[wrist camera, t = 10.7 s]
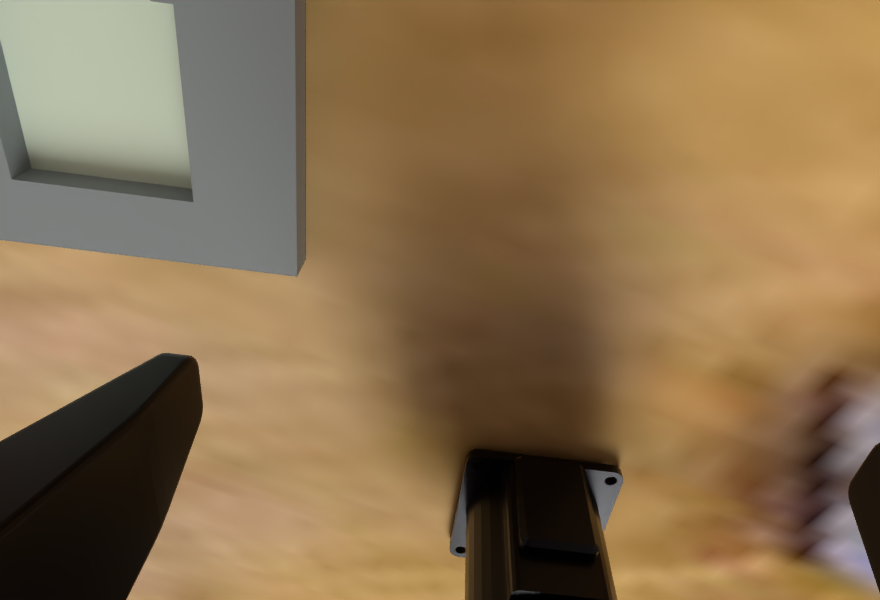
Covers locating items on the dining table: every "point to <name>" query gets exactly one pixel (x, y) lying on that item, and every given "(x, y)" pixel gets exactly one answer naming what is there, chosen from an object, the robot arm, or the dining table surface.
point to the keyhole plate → (156, 129)
